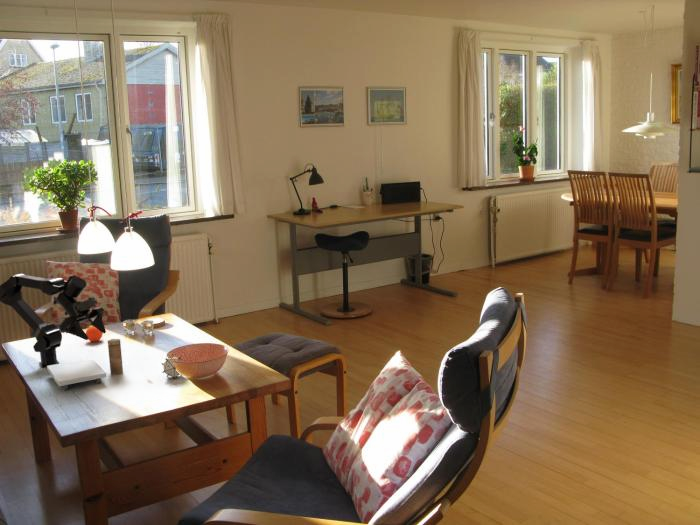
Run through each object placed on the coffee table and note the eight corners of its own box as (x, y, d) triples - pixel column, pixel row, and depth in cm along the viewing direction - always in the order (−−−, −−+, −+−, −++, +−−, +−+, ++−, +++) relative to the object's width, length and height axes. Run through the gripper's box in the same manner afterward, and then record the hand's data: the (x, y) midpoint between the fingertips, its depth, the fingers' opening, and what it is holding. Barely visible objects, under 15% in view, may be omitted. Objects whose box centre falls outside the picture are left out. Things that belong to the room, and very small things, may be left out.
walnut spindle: (109, 372, 266) (106, 340, 263) (121, 370, 268) (118, 338, 266) (112, 375, 262) (109, 343, 260) (124, 373, 264) (121, 340, 262)
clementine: (80, 343, 306) (79, 327, 305) (91, 338, 313) (89, 322, 311) (96, 344, 304) (95, 327, 302) (106, 339, 310) (105, 323, 309)
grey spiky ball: (172, 388, 257) (155, 372, 251) (170, 374, 264) (154, 357, 258) (193, 376, 257) (177, 359, 251) (191, 361, 264) (175, 344, 258)
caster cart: (48, 376, 263) (46, 365, 263) (92, 367, 272) (91, 357, 271) (59, 393, 245) (58, 382, 244) (107, 383, 253) (106, 372, 253)
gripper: (62, 296, 256) (89, 328, 254) (98, 286, 273) (124, 316, 271) (48, 316, 261) (74, 348, 258) (84, 304, 278) (109, 334, 275)
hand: (96, 336), depth 266 cm, fingers open, 9 cm apart
